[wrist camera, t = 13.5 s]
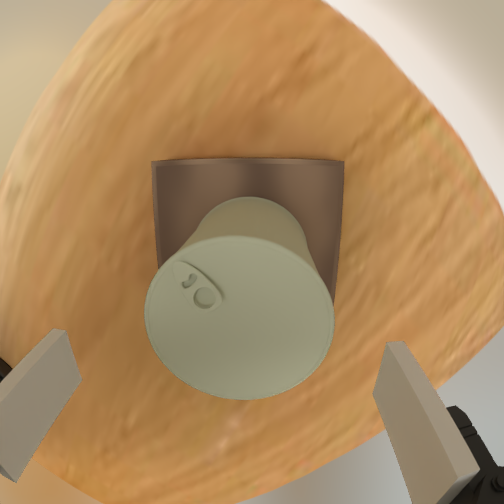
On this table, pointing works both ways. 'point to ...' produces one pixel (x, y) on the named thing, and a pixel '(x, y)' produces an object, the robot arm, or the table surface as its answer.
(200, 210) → the brown flat square block
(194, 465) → the table surface
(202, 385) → the can
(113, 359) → the table surface
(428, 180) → the table surface
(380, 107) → the table surface
